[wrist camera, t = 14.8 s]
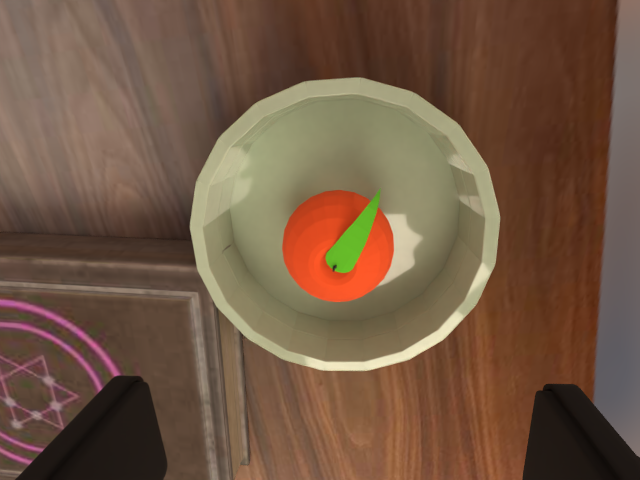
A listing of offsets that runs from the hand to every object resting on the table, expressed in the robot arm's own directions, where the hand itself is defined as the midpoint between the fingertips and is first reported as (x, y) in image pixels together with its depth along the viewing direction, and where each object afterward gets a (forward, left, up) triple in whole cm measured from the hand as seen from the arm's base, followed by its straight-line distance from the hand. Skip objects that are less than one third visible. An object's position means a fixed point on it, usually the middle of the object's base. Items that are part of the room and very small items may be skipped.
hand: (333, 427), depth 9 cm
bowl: (0, 0, -18) cm, 18 cm away
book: (+24, +11, -18) cm, 32 cm away
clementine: (0, 0, -18) cm, 18 cm away
